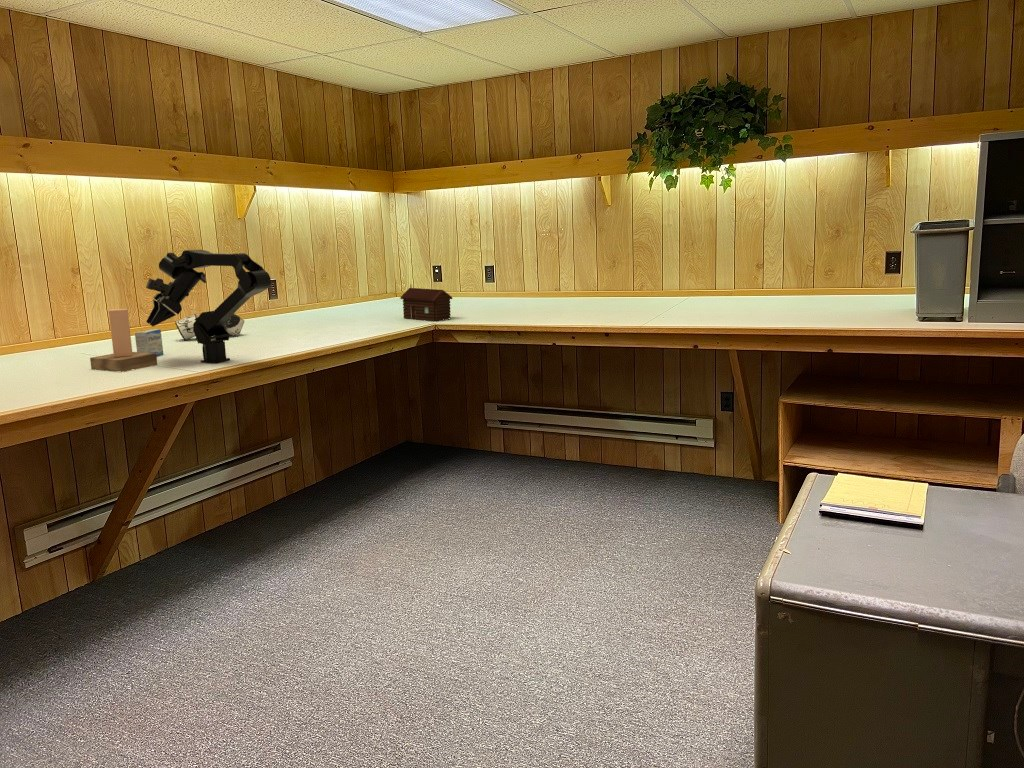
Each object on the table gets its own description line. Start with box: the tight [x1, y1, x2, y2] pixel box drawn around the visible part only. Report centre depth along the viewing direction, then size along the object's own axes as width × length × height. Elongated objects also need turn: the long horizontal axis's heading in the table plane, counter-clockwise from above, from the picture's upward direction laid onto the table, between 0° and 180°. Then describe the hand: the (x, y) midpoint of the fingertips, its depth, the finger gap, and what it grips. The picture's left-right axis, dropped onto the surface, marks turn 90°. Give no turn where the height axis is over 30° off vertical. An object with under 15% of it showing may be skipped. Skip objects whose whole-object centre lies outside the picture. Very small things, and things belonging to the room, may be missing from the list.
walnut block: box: [89, 351, 158, 373], centre depth 242 cm, size 13×13×4 cm
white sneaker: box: [174, 313, 245, 342], centre depth 300 cm, size 25×10×10 cm, turn 127°
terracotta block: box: [108, 308, 133, 357], centre depth 240 cm, size 5×5×14 cm
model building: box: [400, 284, 453, 322], centre depth 348 cm, size 21×12×15 cm, turn 51°
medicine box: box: [134, 328, 164, 357], centre depth 260 cm, size 8×4×9 cm, turn 170°
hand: (149, 324), depth 244 cm, fingers open, 9 cm apart
